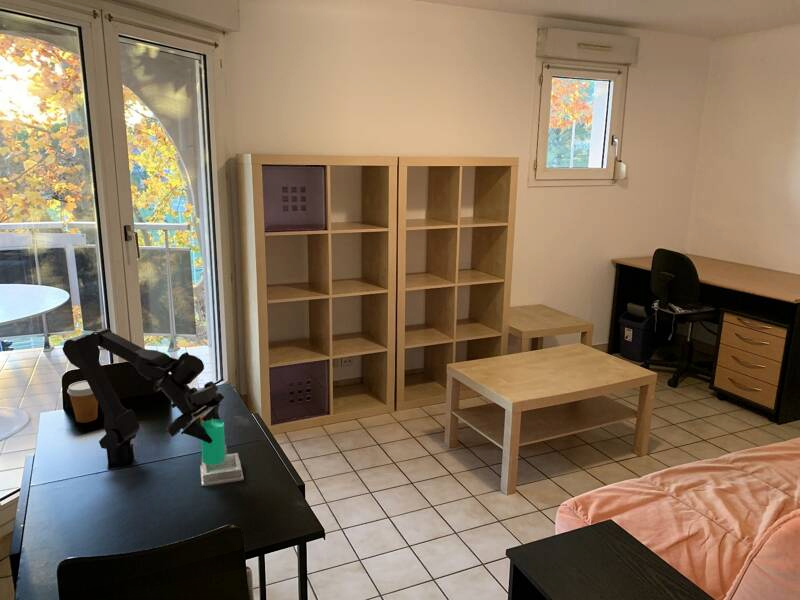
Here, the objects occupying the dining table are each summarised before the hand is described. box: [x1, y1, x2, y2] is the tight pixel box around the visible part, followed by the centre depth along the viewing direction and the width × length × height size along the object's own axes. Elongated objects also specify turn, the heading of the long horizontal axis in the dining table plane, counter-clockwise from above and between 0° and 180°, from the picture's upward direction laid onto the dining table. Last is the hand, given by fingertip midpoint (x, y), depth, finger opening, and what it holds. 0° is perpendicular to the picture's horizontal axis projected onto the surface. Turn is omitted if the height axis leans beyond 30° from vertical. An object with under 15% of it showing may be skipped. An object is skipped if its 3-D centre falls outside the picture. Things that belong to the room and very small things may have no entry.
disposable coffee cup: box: [66, 380, 99, 424], centre depth 201 cm, size 10×10×12 cm
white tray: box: [199, 443, 245, 488], centre depth 172 cm, size 11×17×4 cm, turn 20°
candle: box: [200, 419, 226, 465], centre depth 163 cm, size 6×6×12 cm
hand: (217, 437), depth 163 cm, fingers closed on candle, 5 cm apart
